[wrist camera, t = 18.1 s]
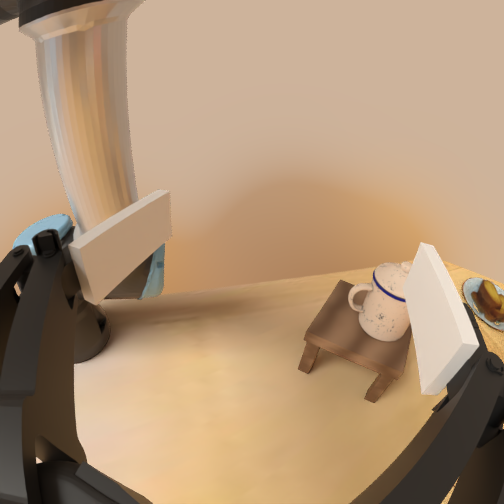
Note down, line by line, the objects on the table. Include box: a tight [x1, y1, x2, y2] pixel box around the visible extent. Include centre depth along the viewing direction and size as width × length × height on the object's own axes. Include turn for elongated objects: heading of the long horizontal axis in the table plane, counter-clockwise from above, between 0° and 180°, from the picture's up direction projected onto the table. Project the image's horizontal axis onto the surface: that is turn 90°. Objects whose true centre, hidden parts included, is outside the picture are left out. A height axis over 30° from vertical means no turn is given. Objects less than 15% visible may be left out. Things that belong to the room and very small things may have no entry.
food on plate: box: [463, 278, 504, 331], centre depth 58 cm, size 25×10×25 cm
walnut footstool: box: [298, 280, 412, 403], centre depth 44 cm, size 16×16×10 cm
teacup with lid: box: [348, 261, 412, 342], centre depth 38 cm, size 12×9×12 cm
